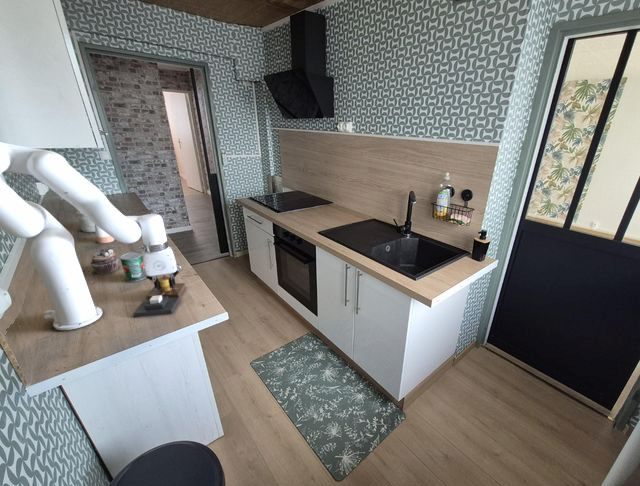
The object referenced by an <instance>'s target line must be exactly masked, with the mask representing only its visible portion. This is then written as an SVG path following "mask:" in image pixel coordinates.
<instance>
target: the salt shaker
mask: <svg viewBox="0 0 640 486" xmlns="http://www.w3.org/2000/svg"><path fill="white" fill-rule="evenodd" d="M94 225H95V232H94V233H95V235H96V236H95V237H96V240H97V243H98V244H107V243H112V242H114V241H115V239H114V238H113V237H111V236H110V235H109V234H107V233H106V232H104V231H103V230H102V229H101V228H99V227H98V226H97V225H96V224H94Z"/></svg>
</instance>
